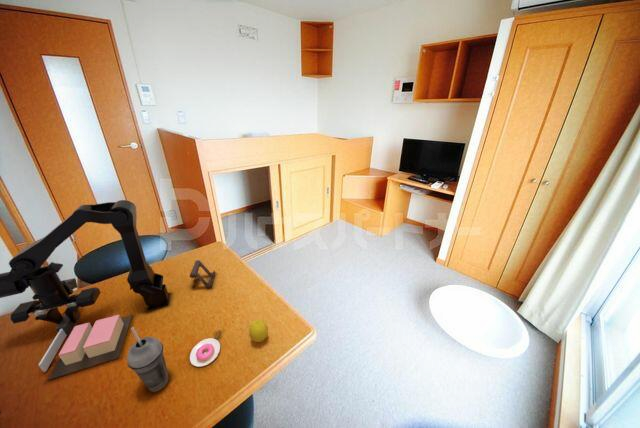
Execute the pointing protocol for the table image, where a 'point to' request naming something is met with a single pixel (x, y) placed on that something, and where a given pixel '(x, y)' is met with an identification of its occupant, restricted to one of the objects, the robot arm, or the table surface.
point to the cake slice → (75, 344)
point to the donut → (204, 352)
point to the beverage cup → (148, 362)
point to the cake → (103, 336)
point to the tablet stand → (195, 274)
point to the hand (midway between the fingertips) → (70, 323)
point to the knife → (58, 340)
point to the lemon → (258, 330)
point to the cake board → (93, 361)
